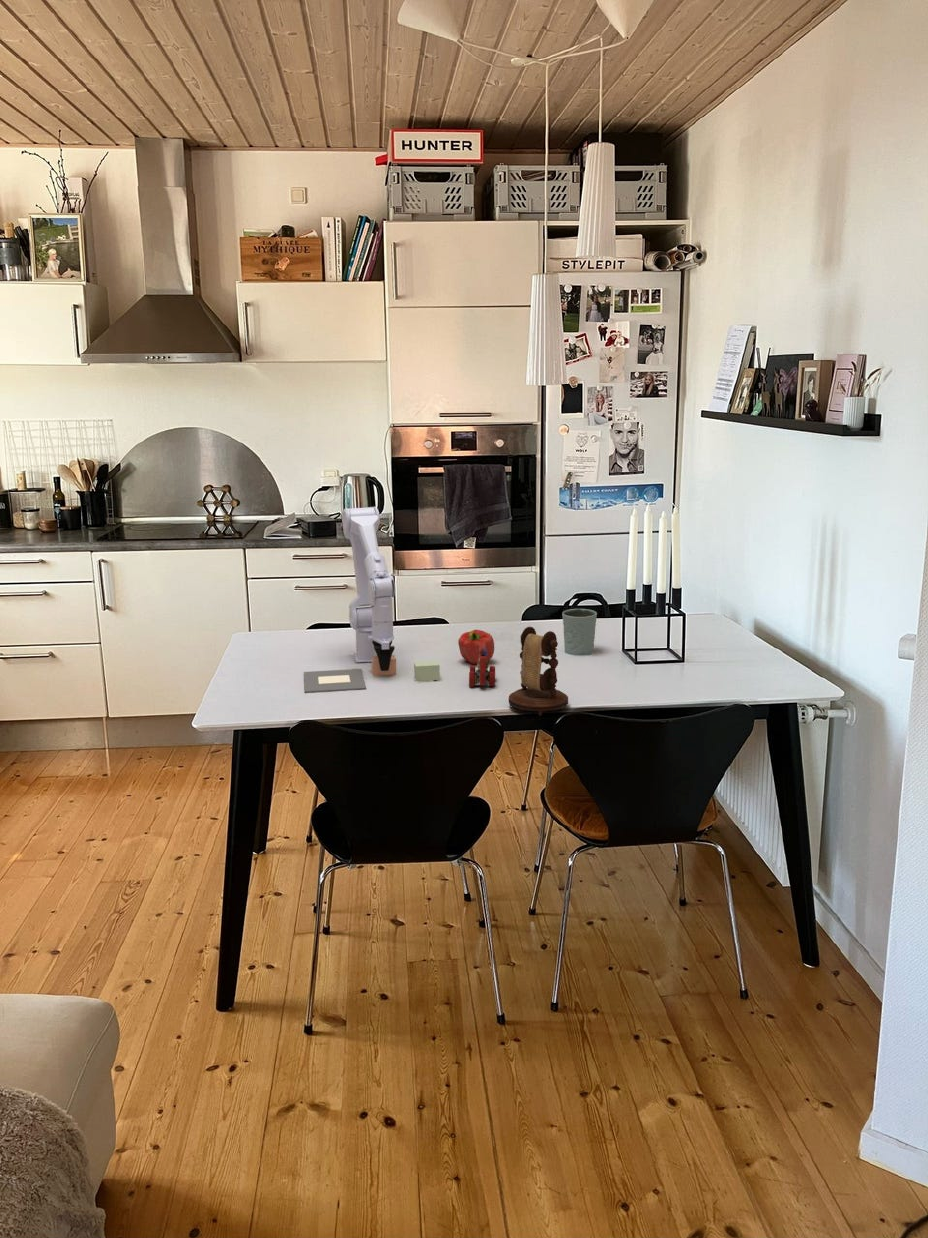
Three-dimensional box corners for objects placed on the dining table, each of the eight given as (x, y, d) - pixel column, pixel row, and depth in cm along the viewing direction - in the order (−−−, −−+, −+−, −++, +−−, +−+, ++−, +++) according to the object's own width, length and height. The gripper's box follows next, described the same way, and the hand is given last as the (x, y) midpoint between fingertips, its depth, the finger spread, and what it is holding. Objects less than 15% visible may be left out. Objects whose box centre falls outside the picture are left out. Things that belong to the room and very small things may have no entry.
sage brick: (414, 677, 273) (414, 662, 271) (437, 676, 274) (437, 660, 272) (416, 682, 268) (415, 666, 267) (439, 681, 269) (439, 665, 268)
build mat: (303, 673, 277) (303, 671, 277) (361, 670, 280) (361, 668, 280) (304, 693, 260) (304, 691, 260) (366, 689, 262) (366, 687, 262)
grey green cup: (595, 647, 300) (596, 608, 297) (596, 656, 290) (597, 616, 288) (561, 647, 301) (562, 608, 298) (561, 656, 291) (562, 616, 289)
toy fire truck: (468, 690, 261) (468, 652, 258) (469, 676, 273) (469, 640, 270) (495, 690, 260) (495, 652, 258) (495, 676, 272) (495, 640, 270)
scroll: (496, 707, 247) (496, 629, 242) (535, 694, 257) (536, 618, 252) (541, 721, 237) (541, 640, 232) (580, 706, 247) (581, 628, 242)
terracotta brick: (371, 671, 278) (371, 655, 277) (394, 670, 279) (394, 654, 278) (373, 675, 274) (372, 660, 273) (396, 674, 275) (395, 658, 274)
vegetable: (487, 669, 279) (487, 634, 277) (452, 666, 283) (452, 632, 280) (498, 659, 289) (498, 625, 287) (465, 656, 293) (464, 623, 290)
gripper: (365, 615, 280) (367, 661, 283) (369, 627, 266) (371, 676, 269) (390, 613, 281) (392, 660, 284) (396, 626, 267) (397, 674, 270)
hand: (383, 668), depth 276 cm, fingers closed on terracotta brick, 4 cm apart
